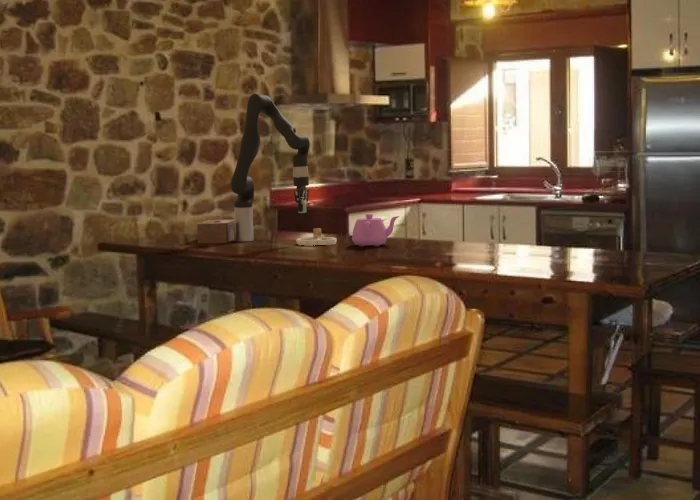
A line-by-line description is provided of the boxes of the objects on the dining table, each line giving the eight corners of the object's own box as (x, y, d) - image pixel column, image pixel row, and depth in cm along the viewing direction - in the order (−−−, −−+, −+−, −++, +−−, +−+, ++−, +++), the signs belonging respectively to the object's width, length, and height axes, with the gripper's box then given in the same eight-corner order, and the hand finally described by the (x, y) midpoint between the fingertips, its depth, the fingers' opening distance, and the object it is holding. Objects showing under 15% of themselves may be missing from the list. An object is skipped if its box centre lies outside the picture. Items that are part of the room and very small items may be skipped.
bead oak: (314, 240, 466) (314, 228, 466) (322, 240, 465) (321, 228, 465) (312, 241, 462) (312, 229, 462) (320, 241, 462) (320, 229, 461)
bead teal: (304, 212, 456) (304, 200, 455) (297, 213, 457) (296, 200, 457) (307, 212, 460) (307, 200, 459) (300, 212, 461) (299, 200, 460)
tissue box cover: (225, 243, 471) (225, 223, 470) (197, 243, 473) (197, 224, 472) (236, 238, 497) (235, 219, 496) (209, 238, 498) (209, 219, 497)
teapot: (349, 248, 436) (349, 216, 435) (354, 243, 457) (353, 212, 455) (398, 248, 434) (398, 215, 432) (400, 243, 455) (400, 212, 453)
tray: (293, 245, 451) (292, 240, 451) (302, 241, 470) (302, 236, 470) (331, 245, 448) (331, 240, 447) (339, 241, 466) (339, 236, 466)
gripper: (299, 175, 464) (300, 210, 466) (287, 176, 451) (289, 212, 453) (313, 175, 462) (314, 210, 464) (302, 176, 449) (304, 212, 450)
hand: (302, 211), depth 458 cm, fingers closed on bead teal, 4 cm apart
